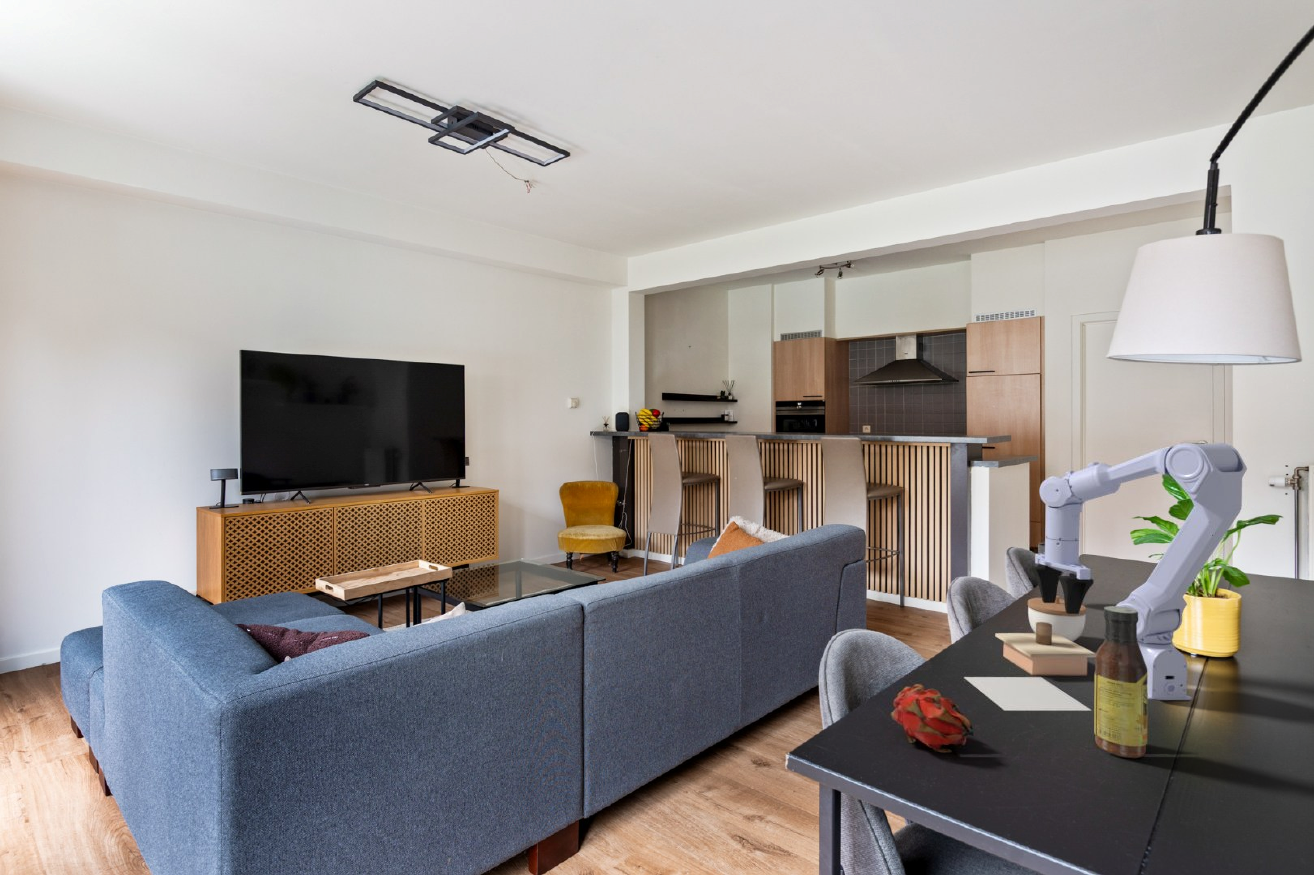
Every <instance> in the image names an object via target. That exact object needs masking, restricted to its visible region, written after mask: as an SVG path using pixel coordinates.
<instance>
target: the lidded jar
mask: <svg viewBox="0 0 1314 875" xmlns="http://www.w3.org/2000/svg"><path fill="white" fill-rule="evenodd" d="M1027 606H1028V607H1027V613H1028V614H1027V616H1028V622H1029V624H1030V625H1029V626H1030V628H1031V630H1032V631H1033V633H1036V623H1037V622H1045V623H1049V624H1052V633H1056V634H1058V635H1060V636H1062V637H1064V638H1066V639H1068V640H1070V641H1072V642H1074V641H1076V640H1077V639H1078V638H1080V637H1081V635H1082V633H1083V631H1084V628H1085V625H1086V614H1087V607H1086V606H1085V605H1083V604H1082V605H1081V608H1080V611H1079V614H1068V613H1066V610H1065V602H1064V599H1062V598H1060V596H1059V595H1057V596H1056V600H1055V603H1044V602H1043V601H1042V597H1034V598H1033V597H1032V598H1030V599H1028V600H1027Z"/></svg>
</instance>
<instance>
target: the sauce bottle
mask: <svg viewBox="0 0 1314 875" xmlns="http://www.w3.org/2000/svg"><path fill="white" fill-rule="evenodd" d="M1103 617H1104V621H1105V622H1104V624H1105V627H1104V629H1105V630H1104V640H1103V643H1102V644H1100V646H1099V647H1098V649H1097V650H1096V652H1095V654H1096V657H1095V671H1094V695H1093V696H1094V700H1093V702H1094V703H1093V704H1094V705H1093V706H1094V710H1093V711H1094V712H1093V713H1094V722H1093V723H1094V725H1093V726H1094V727H1093V728H1094V729H1093V731H1094V735H1095V743H1096V745H1097V747H1098V748H1100V749H1101V750H1104V751H1106V752H1108V753H1110V754H1112V755H1113V756H1116V757H1117V756H1118V757H1121V758H1131V759H1137V758H1142V757H1144V755H1145V754H1146V751H1147V749H1146V748H1147V747H1146V746H1147V744H1148V713H1149V712H1148V710H1149V709H1148V705H1149V704H1148V701H1149V699H1148V692H1147V689H1148V688H1147V683H1148V681H1147V678H1148V671H1147V667H1146V664H1145V661H1144V658H1143V656H1142V653H1141V650H1140V647H1139V645H1138V642H1137V622H1138V612H1137V611H1136V610H1134V609H1130V608H1125V607H1118V606H1116V605H1115V606H1114V605H1110V606H1104V607H1103Z"/></svg>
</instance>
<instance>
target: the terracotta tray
mask: <svg viewBox="0 0 1314 875" xmlns="http://www.w3.org/2000/svg"><path fill="white" fill-rule="evenodd" d="M1002 651H1003V657H1004V658H1005V659H1006V660H1008V661H1010V662H1011V663H1012V664H1015V665H1016V666H1017V667H1019V668H1020V669H1022V670H1023V671H1025V672H1026V673H1028V674H1029V675H1031V676H1073V677H1074V676H1078V677H1079V676H1085V677H1086V676H1088V657H1029V656H1028V655H1026V654H1024V653H1023V652H1021V651H1019V650H1017V649H1016V648H1014V647H1012V646H1011V645H1009V644H1007V643H1006V642H1004V641H1003V650H1002Z"/></svg>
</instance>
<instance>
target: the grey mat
mask: <svg viewBox="0 0 1314 875" xmlns="http://www.w3.org/2000/svg"><path fill="white" fill-rule="evenodd" d="M963 679H965V680H966V681H967V682H969V683H970V684H971V685H972V686H973V687H975V688H976V689H978V690H979V692H981V693H982V694H984V695H985V696H986V697H987V698H988V699H989V700H991V701H992V702H993V703H995V705H997V706H998V707H999V708H1001V709H1002V710H1003V711H1006V712H1007V711H1009V712H1010V711H1012V712H1013V711H1015V712H1018V711H1021V712H1022V711H1023V712H1024V711H1025V712H1027V711H1028V712H1029V711H1030V712H1033V711H1034V712H1036V711H1037V712H1038V711H1039V712H1040V711H1041V712H1043V711H1044V712H1045V711H1046V712H1051V711H1052V712H1054V711H1055V712H1056V711H1057V712H1059V711H1062V712H1063V711H1064V712H1065V711H1067V712H1068V711H1070V712H1073V711H1075V712H1078V711H1079V712H1082V711H1083V712H1084V711H1085V712H1088V711H1090V712H1091V711H1092V709H1090V708H1089V707H1088V706H1086V705H1084V703H1083V704H1082V703H1081V702H1080V701H1078V700H1077V699H1075V698H1074V697H1072V696H1070V695H1069V694H1067V693H1066V692H1064V691H1062V690H1061V689H1059V688H1058V687H1057V686H1056V685H1054V684H1052V683H1051V682H1049V681H1048V680H1046V679H1044V678H1043V677H1041V676H1025V677H1024V676H1022V677H1021V676H1019V677H1018V676H1013V677H1012V676H1006V677H1005V676H998V677H997V676H973V677H972V676H964V677H963Z"/></svg>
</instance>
